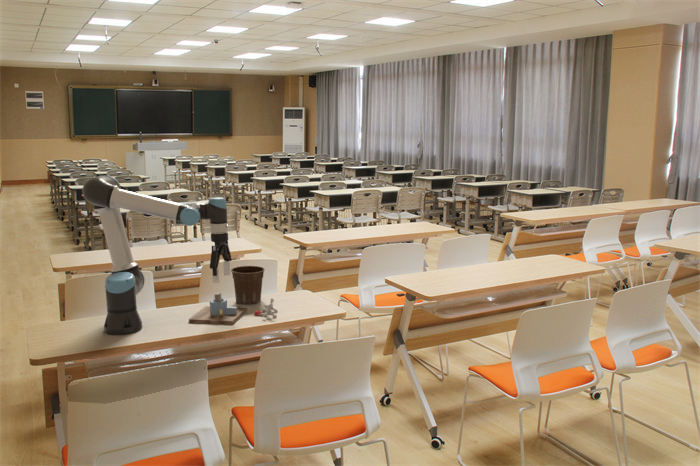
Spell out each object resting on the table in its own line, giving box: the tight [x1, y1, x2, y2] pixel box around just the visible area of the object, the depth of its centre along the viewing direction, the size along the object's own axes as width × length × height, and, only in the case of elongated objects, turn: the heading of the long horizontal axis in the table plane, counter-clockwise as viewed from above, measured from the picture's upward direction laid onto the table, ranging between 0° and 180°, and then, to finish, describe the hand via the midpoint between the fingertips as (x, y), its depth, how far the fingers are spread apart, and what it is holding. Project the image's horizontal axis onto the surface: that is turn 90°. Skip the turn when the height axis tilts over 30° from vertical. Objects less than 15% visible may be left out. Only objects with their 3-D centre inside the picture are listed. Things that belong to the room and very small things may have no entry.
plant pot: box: [230, 265, 266, 305], centre depth 291 cm, size 16×16×16 cm
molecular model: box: [253, 298, 279, 319], centre depth 270 cm, size 14×8×10 cm
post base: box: [188, 292, 248, 325], centre depth 267 cm, size 20×20×10 cm
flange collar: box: [209, 297, 237, 316], centre depth 266 cm, size 12×7×6 cm, turn 82°
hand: (221, 278), depth 266 cm, fingers open, 13 cm apart
